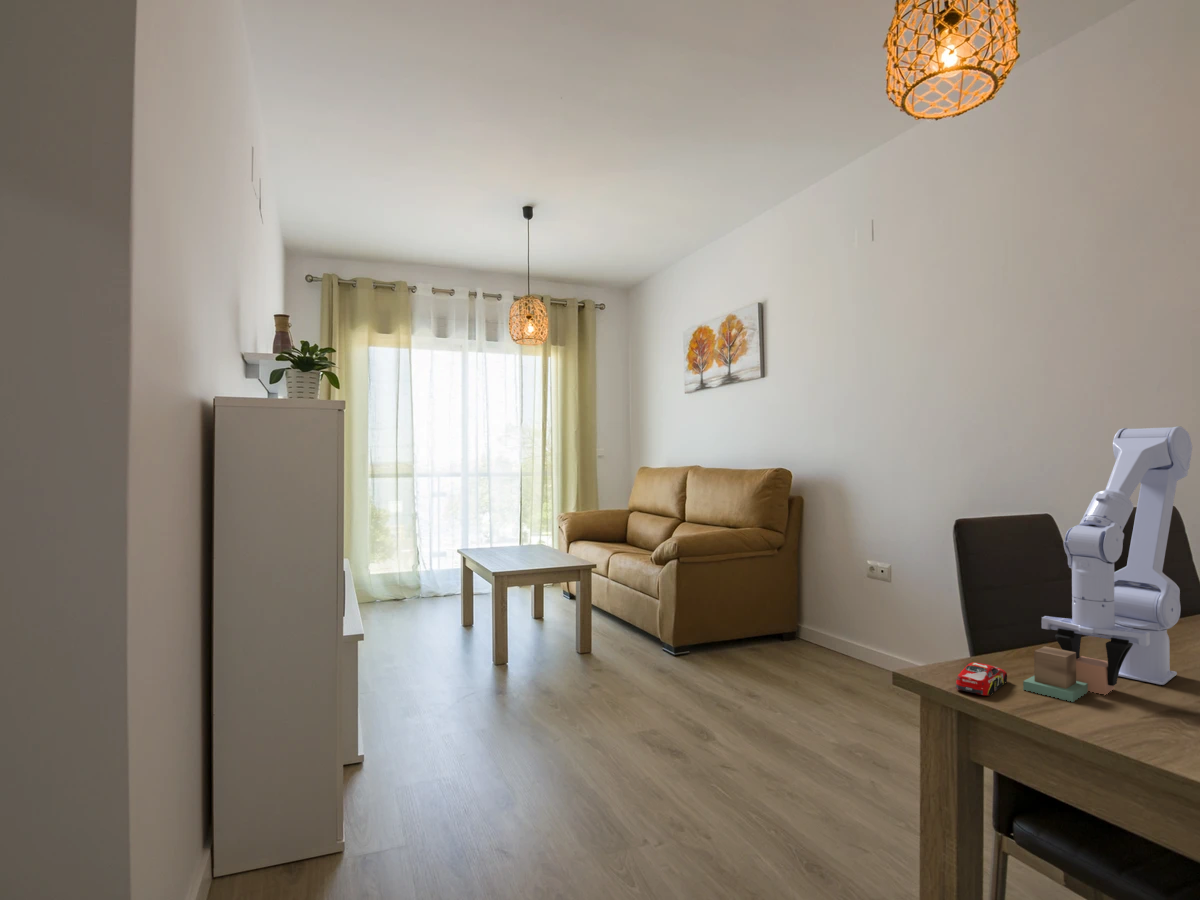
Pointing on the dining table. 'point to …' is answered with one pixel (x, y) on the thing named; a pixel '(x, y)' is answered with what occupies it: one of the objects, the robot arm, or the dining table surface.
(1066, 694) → the base plate
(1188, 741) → the dining table surface
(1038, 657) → the walnut brick
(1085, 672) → the terracotta brick
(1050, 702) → the dining table surface
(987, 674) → the race car
